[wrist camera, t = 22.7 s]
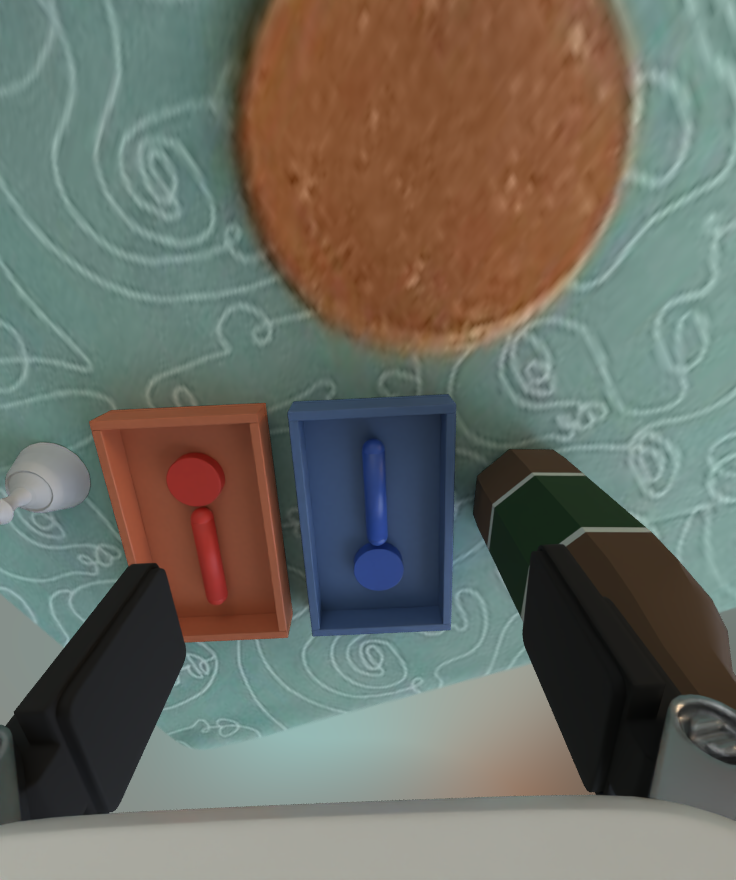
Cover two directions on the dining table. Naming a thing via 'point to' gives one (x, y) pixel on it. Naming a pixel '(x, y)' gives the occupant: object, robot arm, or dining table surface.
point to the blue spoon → (376, 526)
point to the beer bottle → (604, 563)
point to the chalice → (44, 481)
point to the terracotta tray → (168, 520)
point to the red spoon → (202, 515)
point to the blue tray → (408, 509)
